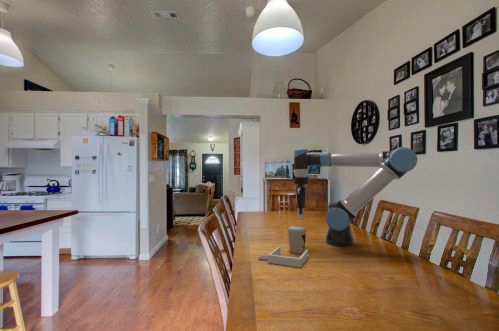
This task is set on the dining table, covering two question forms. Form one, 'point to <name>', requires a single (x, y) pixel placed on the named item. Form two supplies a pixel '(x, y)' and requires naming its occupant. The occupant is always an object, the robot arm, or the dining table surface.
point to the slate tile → (263, 258)
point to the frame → (287, 258)
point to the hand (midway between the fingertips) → (301, 219)
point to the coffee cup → (297, 239)
